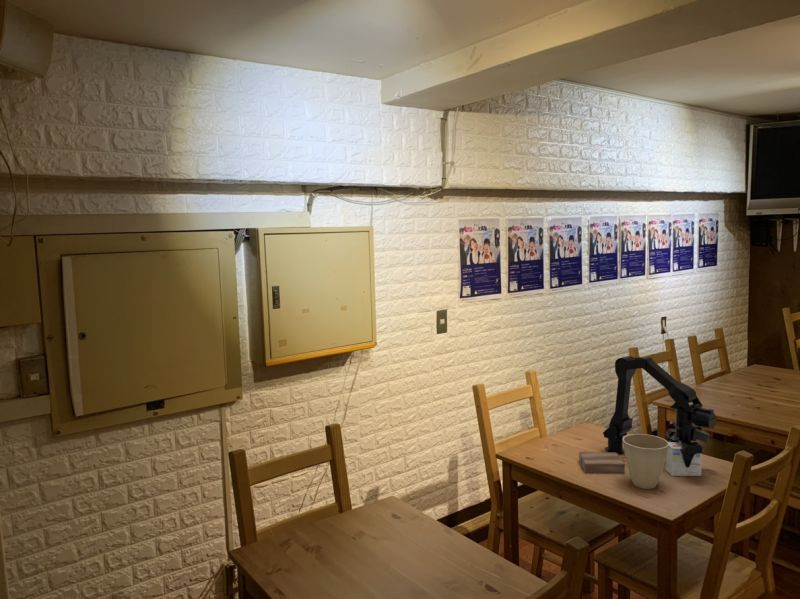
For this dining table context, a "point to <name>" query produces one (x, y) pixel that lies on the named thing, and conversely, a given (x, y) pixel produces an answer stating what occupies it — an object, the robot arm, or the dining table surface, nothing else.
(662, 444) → the plant pot
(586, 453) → the walnut block
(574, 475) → the dining table surface
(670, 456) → the light bulb box
